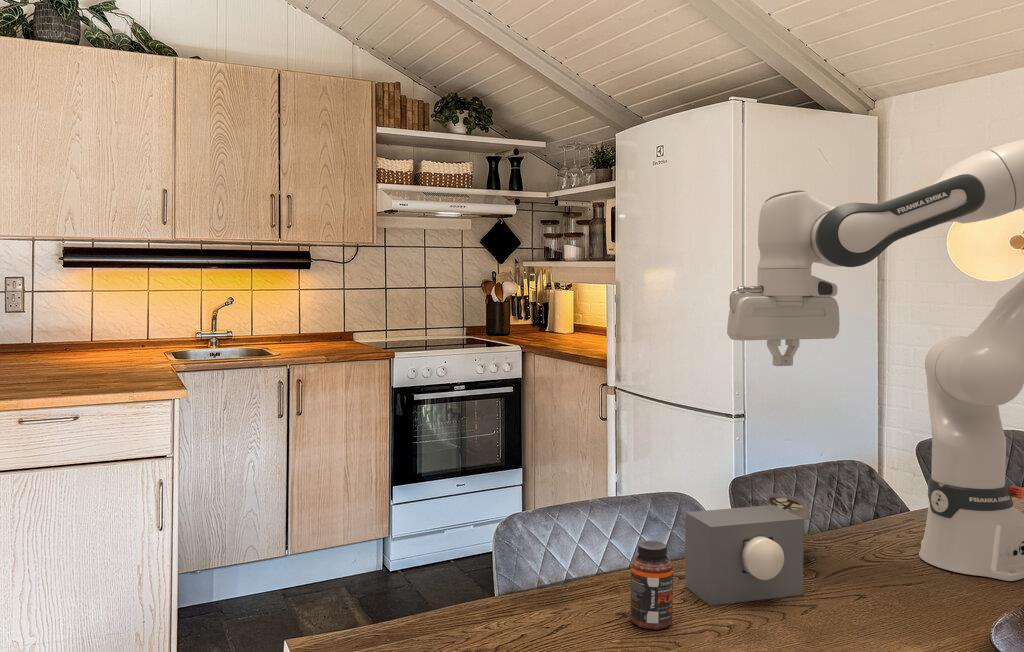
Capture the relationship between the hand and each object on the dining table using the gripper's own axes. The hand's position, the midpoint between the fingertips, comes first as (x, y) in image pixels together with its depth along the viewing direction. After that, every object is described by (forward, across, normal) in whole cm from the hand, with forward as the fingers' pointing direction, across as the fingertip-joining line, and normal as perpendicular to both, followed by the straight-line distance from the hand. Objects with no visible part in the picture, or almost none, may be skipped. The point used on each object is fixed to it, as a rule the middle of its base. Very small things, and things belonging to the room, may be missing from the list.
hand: (782, 365), depth 136 cm
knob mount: (+34, -14, -11) cm, 39 cm away
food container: (+34, +2, 0) cm, 34 cm away
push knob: (+30, -14, -13) cm, 36 cm away
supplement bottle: (+34, -33, -18) cm, 51 cm away
